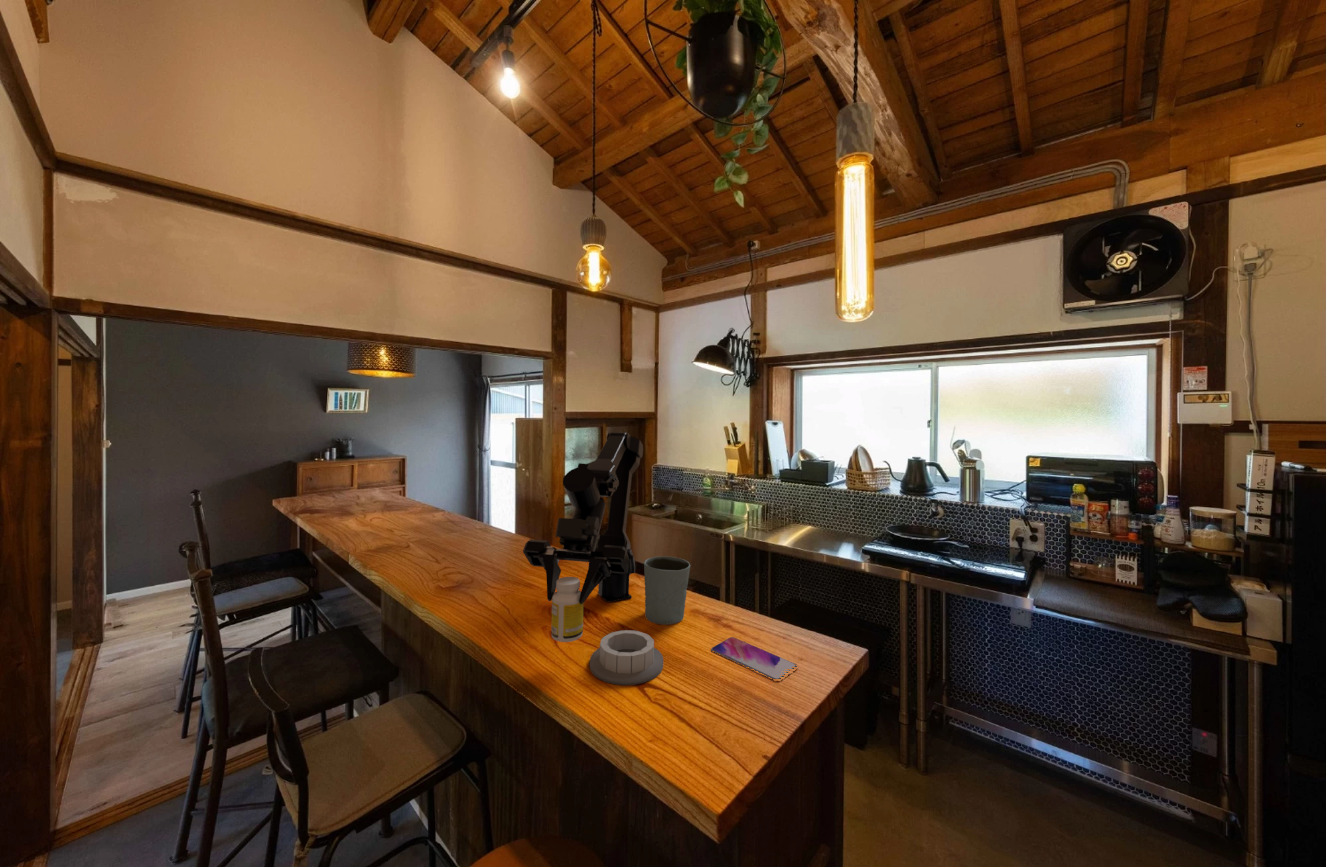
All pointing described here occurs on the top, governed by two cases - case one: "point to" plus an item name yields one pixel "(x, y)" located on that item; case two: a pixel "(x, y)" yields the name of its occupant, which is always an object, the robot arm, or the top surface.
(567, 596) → the supplement bottle
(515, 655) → the top surface
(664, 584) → the grey green cup
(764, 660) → the smartphone
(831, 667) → the top surface
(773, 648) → the top surface
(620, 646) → the socket collar
